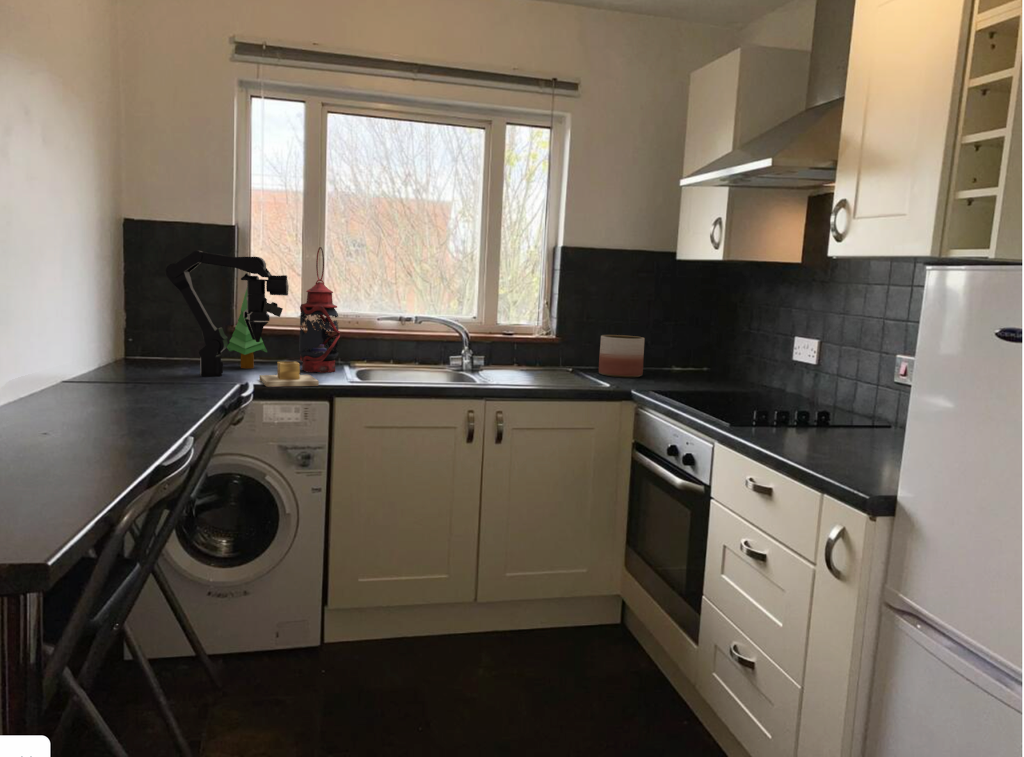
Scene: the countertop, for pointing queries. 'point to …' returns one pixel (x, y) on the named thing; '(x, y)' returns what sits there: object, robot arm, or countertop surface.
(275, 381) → the post board
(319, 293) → the lantern
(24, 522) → the countertop surface
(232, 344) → the decorative tree
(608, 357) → the planter
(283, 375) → the wooden crate frame
